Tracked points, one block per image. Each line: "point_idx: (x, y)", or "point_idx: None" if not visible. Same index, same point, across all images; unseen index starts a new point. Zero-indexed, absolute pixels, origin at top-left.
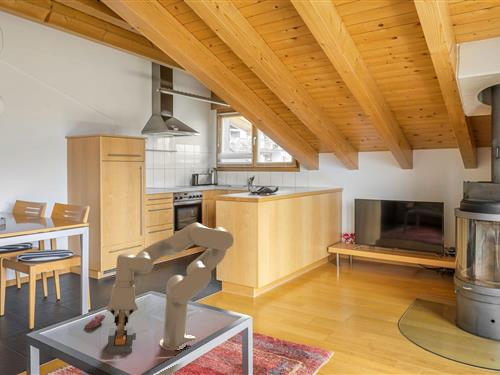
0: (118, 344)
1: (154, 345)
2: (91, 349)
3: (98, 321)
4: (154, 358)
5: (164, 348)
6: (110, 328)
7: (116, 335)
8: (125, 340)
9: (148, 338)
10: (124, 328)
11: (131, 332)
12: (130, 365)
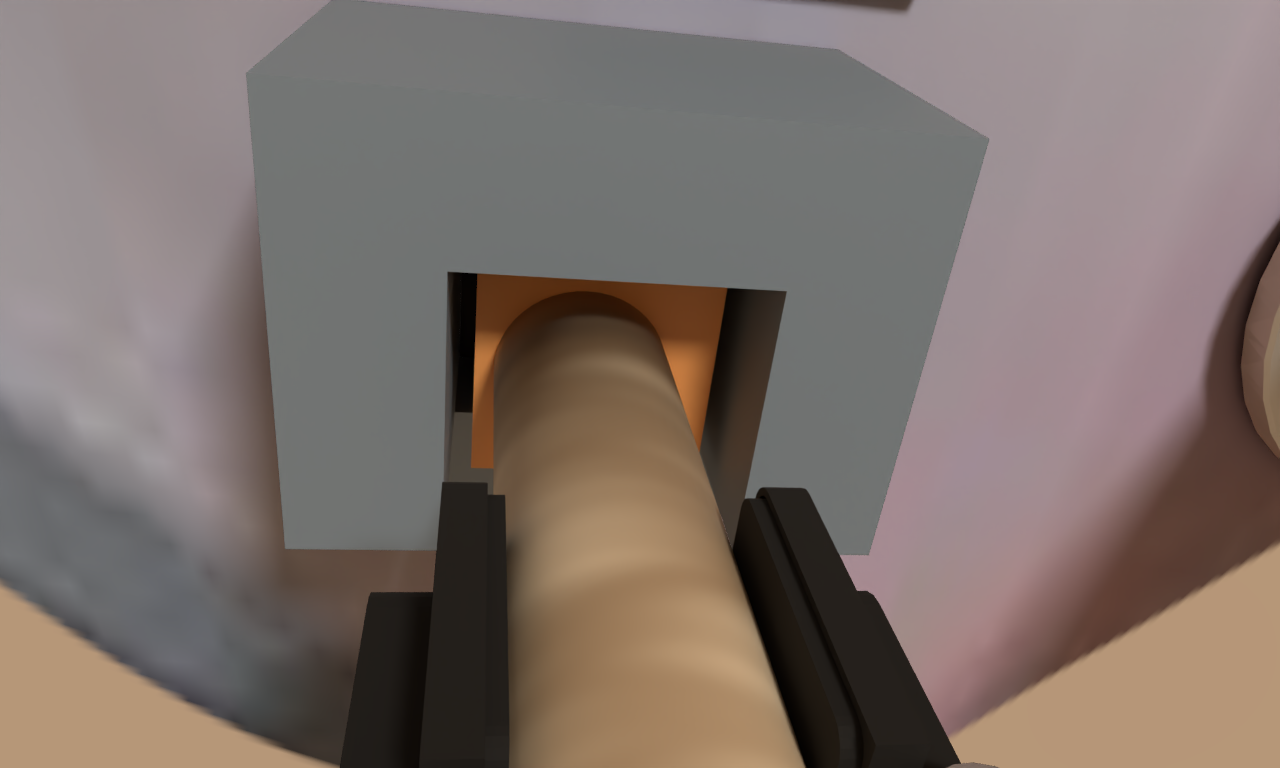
0: None
1: (1186, 244)
2: (4, 212)
3: None
4: (1021, 611)
5: (1268, 438)
6: (278, 100)
7: (492, 282)
8: None
9: None
10: (725, 172)
11: (862, 447)
12: None
